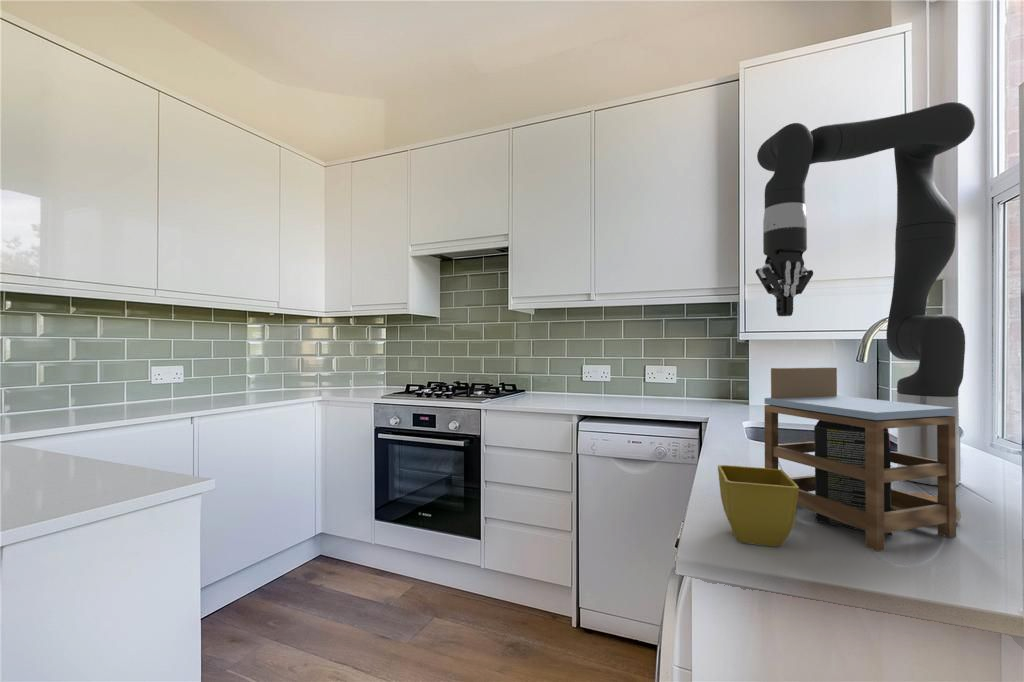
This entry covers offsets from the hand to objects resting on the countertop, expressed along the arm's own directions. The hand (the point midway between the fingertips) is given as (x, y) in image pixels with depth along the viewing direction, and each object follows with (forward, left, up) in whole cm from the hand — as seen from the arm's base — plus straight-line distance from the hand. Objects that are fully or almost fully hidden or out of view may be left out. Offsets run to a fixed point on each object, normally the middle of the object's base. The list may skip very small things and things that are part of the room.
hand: (784, 316), depth 92 cm
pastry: (-4, +21, -34) cm, 40 cm away
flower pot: (+28, +20, -33) cm, 48 cm away
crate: (+8, +19, -33) cm, 39 cm away
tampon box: (+8, +19, -33) cm, 39 cm away
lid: (+8, +19, -16) cm, 26 cm away
